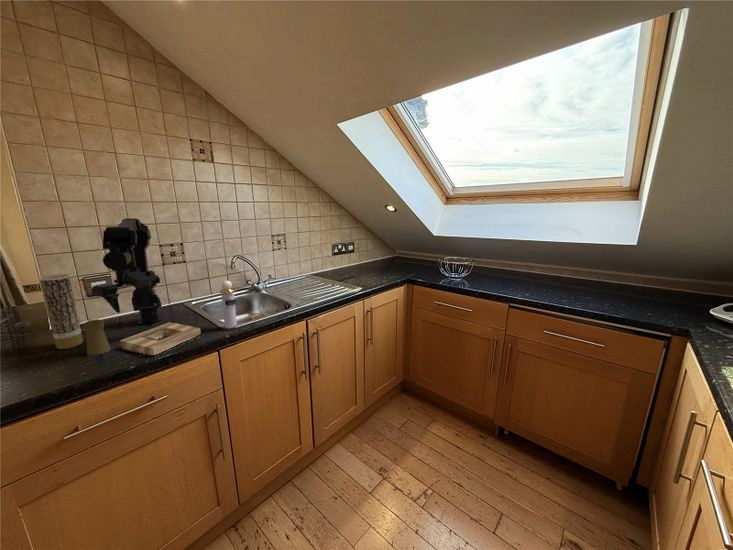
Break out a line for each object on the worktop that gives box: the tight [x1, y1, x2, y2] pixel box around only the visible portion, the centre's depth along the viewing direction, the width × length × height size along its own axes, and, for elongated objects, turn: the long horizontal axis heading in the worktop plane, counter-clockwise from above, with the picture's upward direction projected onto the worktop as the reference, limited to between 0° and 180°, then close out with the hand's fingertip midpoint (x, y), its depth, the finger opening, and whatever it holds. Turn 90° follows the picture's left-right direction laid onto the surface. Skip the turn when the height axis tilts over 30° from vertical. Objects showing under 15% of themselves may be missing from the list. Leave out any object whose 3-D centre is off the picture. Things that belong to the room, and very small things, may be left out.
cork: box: [82, 318, 111, 356], centre depth 99 cm, size 6×6×11 cm
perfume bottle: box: [219, 280, 238, 329], centre depth 119 cm, size 6×6×20 cm
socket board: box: [120, 322, 202, 356], centre depth 108 cm, size 16×18×3 cm
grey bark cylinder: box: [39, 273, 84, 350], centre depth 101 cm, size 7×7×25 cm
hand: (132, 308), depth 103 cm, fingers open, 9 cm apart
